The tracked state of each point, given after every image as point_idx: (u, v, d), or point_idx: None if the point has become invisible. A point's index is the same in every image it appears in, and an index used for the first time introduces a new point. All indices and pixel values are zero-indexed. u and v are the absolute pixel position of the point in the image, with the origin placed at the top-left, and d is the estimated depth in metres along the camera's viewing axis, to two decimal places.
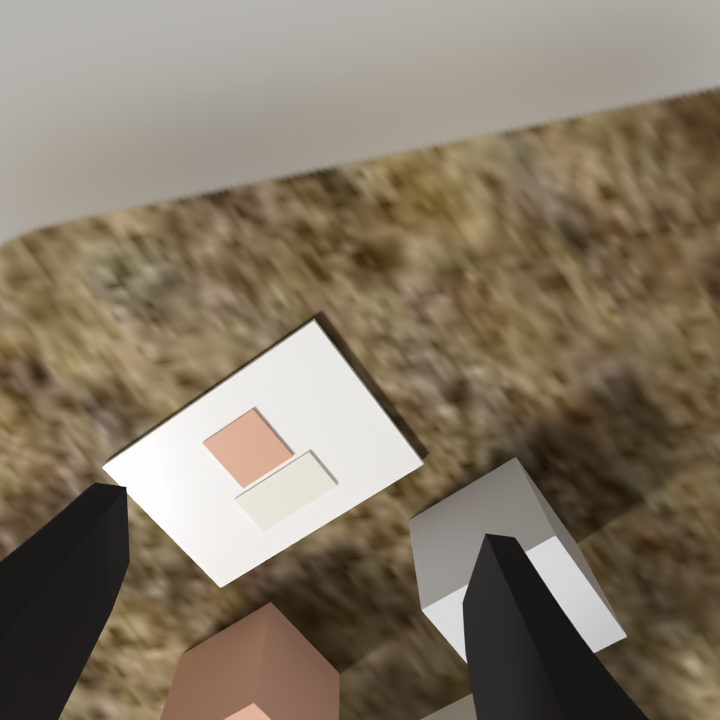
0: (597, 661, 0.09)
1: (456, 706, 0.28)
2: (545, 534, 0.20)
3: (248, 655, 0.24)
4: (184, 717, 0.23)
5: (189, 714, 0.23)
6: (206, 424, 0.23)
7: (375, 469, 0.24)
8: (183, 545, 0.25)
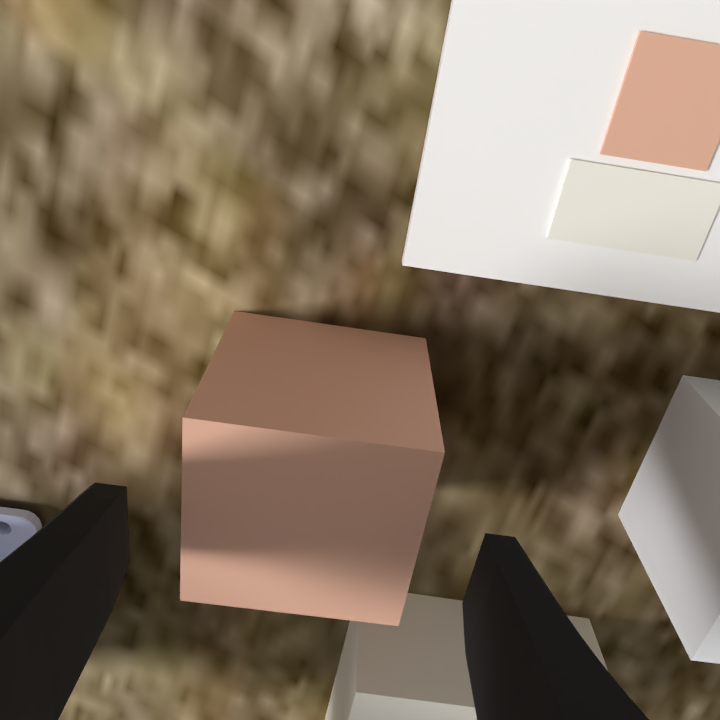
0: (597, 661, 0.09)
1: None
2: None
3: (402, 382, 0.14)
4: (269, 395, 0.13)
5: (280, 397, 0.13)
6: (675, 8, 0.12)
7: None
8: (430, 160, 0.14)
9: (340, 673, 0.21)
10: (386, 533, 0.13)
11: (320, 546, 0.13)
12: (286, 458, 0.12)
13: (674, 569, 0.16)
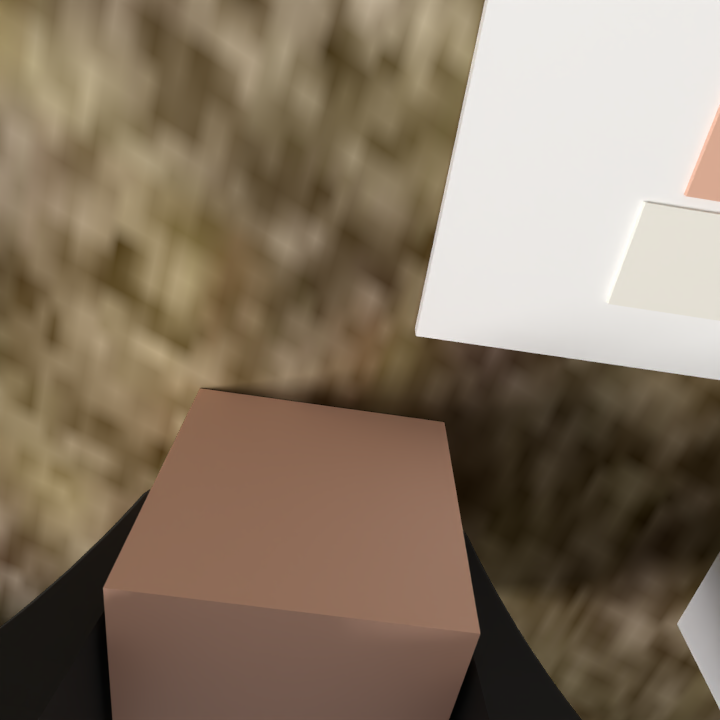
0: (529, 653, 0.09)
1: None
2: None
3: (417, 501, 0.10)
4: (233, 537, 0.09)
5: (248, 539, 0.09)
6: None
7: None
8: (455, 204, 0.10)
9: None
10: None
11: None
12: (255, 638, 0.08)
13: None
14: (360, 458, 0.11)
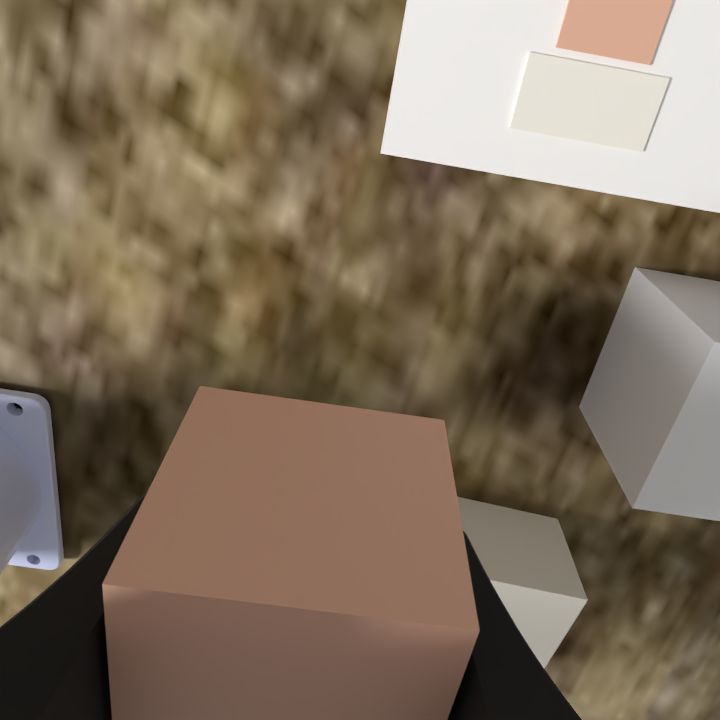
0: (529, 653, 0.09)
1: None
2: None
3: (417, 498, 0.10)
4: (232, 534, 0.09)
5: (248, 535, 0.09)
6: None
7: (693, 173, 0.17)
8: (405, 52, 0.15)
9: None
10: None
11: None
12: (254, 634, 0.08)
13: (622, 436, 0.17)
14: (360, 455, 0.11)
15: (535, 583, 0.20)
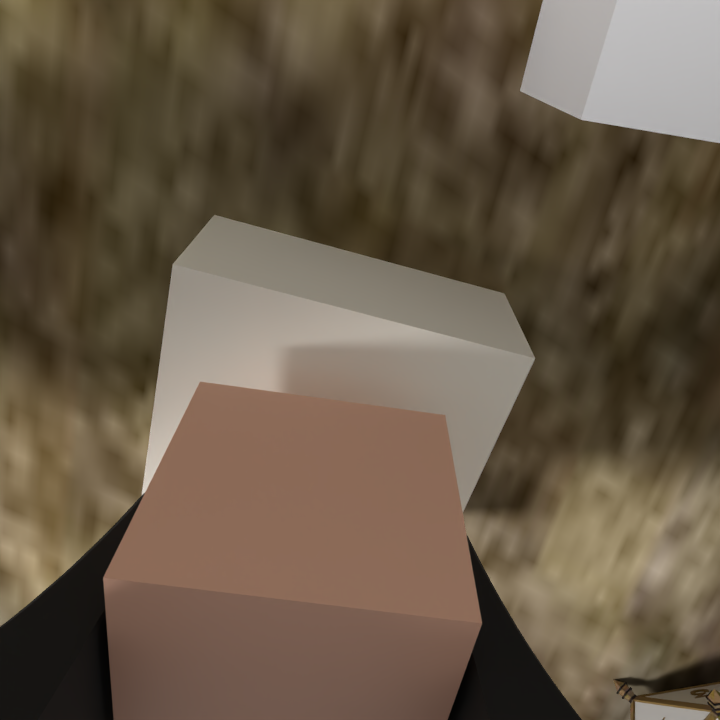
0: (529, 653, 0.09)
1: (355, 256, 0.16)
2: None
3: (418, 493, 0.10)
4: (233, 528, 0.09)
5: (249, 530, 0.09)
6: None
7: None
8: None
9: None
10: (396, 715, 0.09)
11: None
12: (255, 628, 0.08)
13: (570, 46, 0.11)
14: (361, 450, 0.11)
15: (459, 334, 0.14)
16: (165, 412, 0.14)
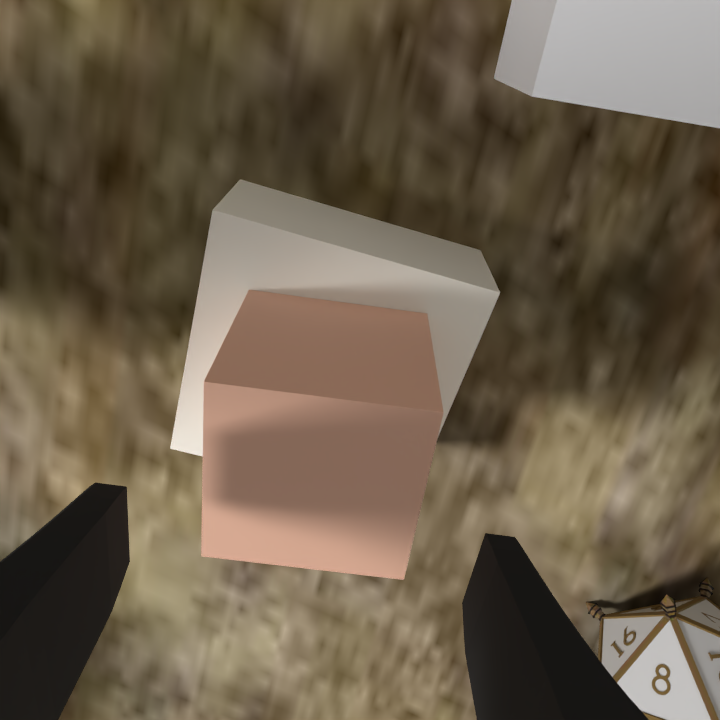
0: (597, 661, 0.09)
1: (356, 215, 0.20)
2: None
3: (405, 352, 0.15)
4: (282, 363, 0.14)
5: (292, 364, 0.14)
6: None
7: None
8: None
9: None
10: (391, 489, 0.14)
11: (329, 503, 0.14)
12: (298, 419, 0.13)
13: (526, 40, 0.15)
14: (365, 330, 0.16)
15: (439, 272, 0.17)
16: (200, 335, 0.18)
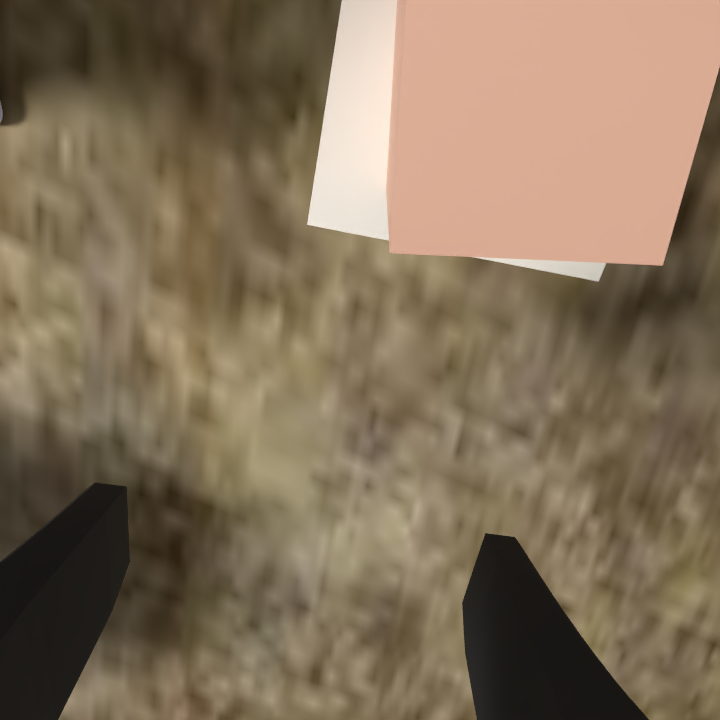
0: (597, 661, 0.09)
1: None
2: None
3: None
4: None
5: None
6: None
7: None
8: None
9: None
10: (662, 99, 0.10)
11: (573, 135, 0.10)
12: None
13: None
14: None
15: None
16: (347, 47, 0.14)
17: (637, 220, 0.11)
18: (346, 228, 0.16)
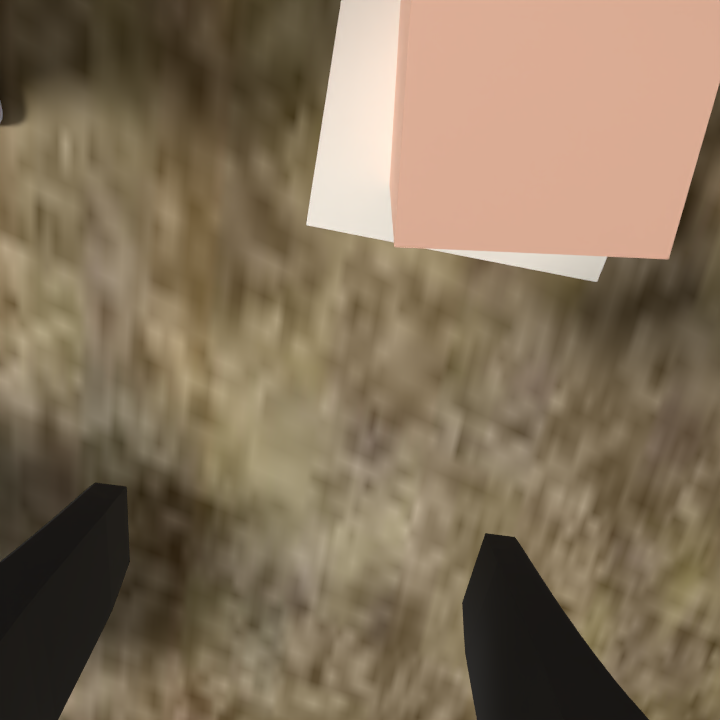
0: (597, 661, 0.09)
1: None
2: None
3: None
4: None
5: None
6: None
7: None
8: None
9: None
10: (669, 92, 0.10)
11: (579, 128, 0.10)
12: None
13: None
14: None
15: None
16: (346, 48, 0.14)
17: (643, 213, 0.11)
18: (345, 228, 0.16)
